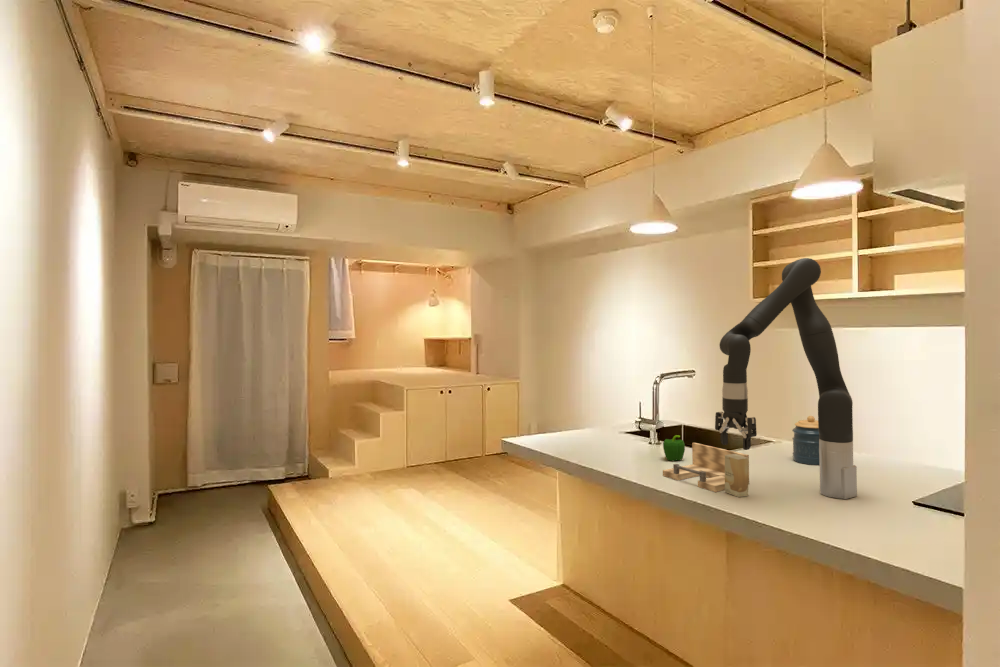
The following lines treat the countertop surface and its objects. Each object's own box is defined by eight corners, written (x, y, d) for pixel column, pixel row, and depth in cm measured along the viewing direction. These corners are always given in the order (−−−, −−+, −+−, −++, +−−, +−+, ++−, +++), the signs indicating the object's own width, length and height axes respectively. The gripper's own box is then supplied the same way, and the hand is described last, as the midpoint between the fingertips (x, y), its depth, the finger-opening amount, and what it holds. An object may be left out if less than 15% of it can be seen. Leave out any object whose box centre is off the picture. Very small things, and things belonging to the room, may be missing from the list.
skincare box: (724, 492, 188) (723, 454, 188) (734, 490, 190) (734, 453, 190) (738, 497, 182) (738, 459, 182) (749, 495, 184) (748, 457, 184)
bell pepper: (658, 460, 233) (658, 435, 233) (670, 456, 238) (669, 432, 238) (677, 463, 227) (676, 438, 226) (688, 459, 232) (688, 434, 232)
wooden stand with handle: (749, 484, 196) (748, 454, 196) (715, 492, 189) (714, 461, 188) (695, 469, 217) (694, 442, 217) (662, 475, 210) (662, 448, 210)
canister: (797, 464, 219) (796, 418, 219) (789, 456, 232) (788, 412, 232) (835, 466, 216) (835, 418, 216) (825, 457, 229) (824, 413, 228)
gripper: (762, 398, 181) (762, 449, 181) (725, 393, 194) (725, 441, 194) (745, 400, 178) (745, 452, 178) (709, 395, 190) (709, 444, 191)
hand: (735, 446), depth 186 cm, fingers open, 8 cm apart
